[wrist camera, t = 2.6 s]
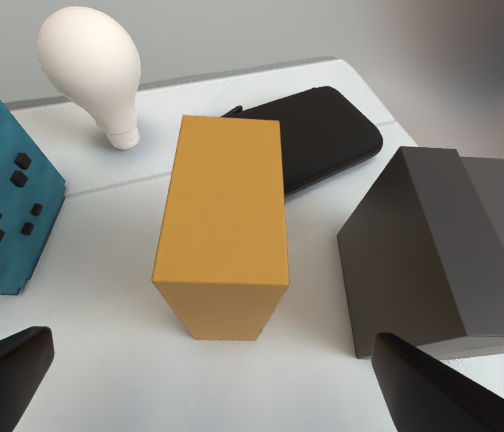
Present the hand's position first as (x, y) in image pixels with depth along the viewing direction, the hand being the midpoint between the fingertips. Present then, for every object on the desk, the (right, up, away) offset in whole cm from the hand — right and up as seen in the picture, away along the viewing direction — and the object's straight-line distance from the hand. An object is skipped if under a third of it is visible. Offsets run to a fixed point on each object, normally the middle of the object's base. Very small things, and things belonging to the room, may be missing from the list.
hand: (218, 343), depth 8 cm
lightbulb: (-11, +10, +19) cm, 23 cm away
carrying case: (+5, +10, +20) cm, 23 cm away
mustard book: (-1, -2, +12) cm, 12 cm away
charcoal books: (+11, -2, +13) cm, 17 cm away
